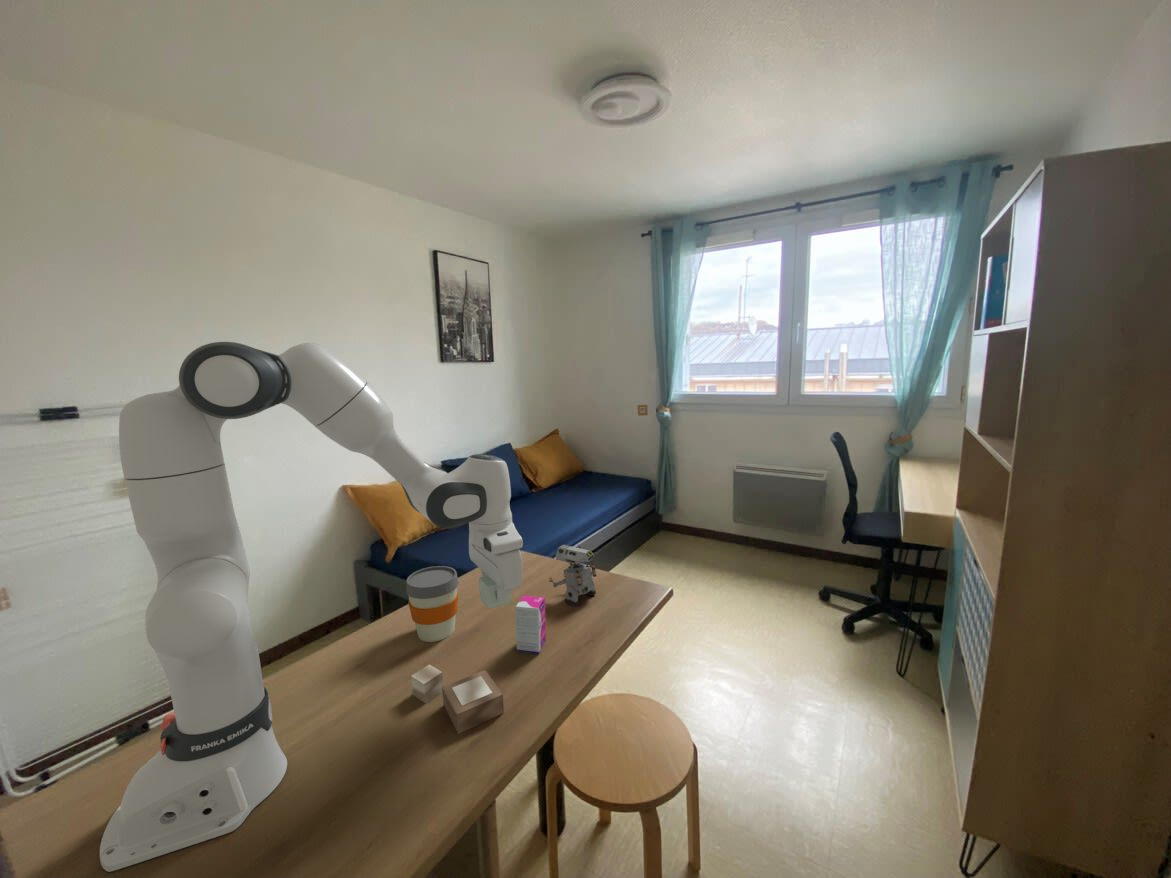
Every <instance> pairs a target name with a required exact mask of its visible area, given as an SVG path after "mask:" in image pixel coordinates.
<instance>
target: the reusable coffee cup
mask: <svg viewBox="0 0 1171 878" xmlns="http://www.w3.org/2000/svg"><path fill="white" fill-rule="evenodd" d="M406 578H407V579H406V589H405V590H406V595H407V596H408V607H409V612H410V615H411V619H412V621H413V622H414V623H415V624H414V625H415V629H416V633H417V636H418V638H419V640H420V641H423V642H429V643H430V642H431V643H432V642H439V641H443V640H444V639H446V638H448V637H450V636H451V635H453V634H454V632H455V628H456V615H457V613H458V610H459V609H458V605H459V591H458V586H459V584H460V582H459V578H458V573H457V570H456V569H455V568H453V567H451V566H445V565H441V566H440V565H437V566H428V567H424V568H421V569H418V570H416V571H414V572H412V573H411V574H410V575H409V576H408V577H406Z"/></svg>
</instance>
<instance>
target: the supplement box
mask: <svg viewBox="0 0 1171 878" xmlns="http://www.w3.org/2000/svg"><path fill="white" fill-rule="evenodd" d="M546 630H547V629H546V597H544V596H533V595H522V596H521V598H520V600H519V601H518V602H517V604H516V606H515V632H516V633H515V634H516V636H515V638H516V639H515V640H516V652H517V653H526V654H534V655H535V654H536V655H537V654H538V655H539V654H540V653H541V651H542V649H543V647H544V644H545V642H546V641H547V639H546V638H547V634H546V633H547V632H546Z"/></svg>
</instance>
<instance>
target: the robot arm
mask: <svg viewBox="0 0 1171 878" xmlns="http://www.w3.org/2000/svg"><path fill="white" fill-rule="evenodd" d="M178 371H179V372H178V383H179V385H178V386H177V387H176V388H174V389H172V390H169V391H163V392H153V393H148V394H144V395H142V396H141V395H140V396H139V397H136V398H134V399H133V400H131V401H128V403H127V404H125V406H123V407H122V409H121V411H120V414H119V420H118V421H119V422H118V424H119V425H118V445H119V456H120V462H121V467H122V473H123V478H124V479H123V480H124V482H125V486H126V490H127V494H128V495H127V496H128V499H129V504H130V508H131V512H132V516H133V521H134V526H135V530H136V532H137V535H138V536H139V537H140V538H141V539H142V540H143V541H144V545H145V546H146V547H147V551H148V552H149V554H150V556H151V558H152V561H153V563H154V566H155V569H156V573H157V586H156V590H155V592H154V594H153V595H152V598H151V599H150V601H149V603H148V605H147V609H146V612H145V616H144V617H145V618H144V619H145V624H144V625H145V626H144V627H145V634H146V639H147V642H148V644H149V645H150V646H151V648H152V649H153V650H154V651H155V654H156V655H155V656H156V657H157V659H158V661H159V663H160V666H161V668H162V669H163V672H164V674H165V677H166V679H167V683H168V687H169V692H170V697H171V701H172V707H173V708H172V709H173V712H169V713H167V714H166V715H165V716H164V717H163V718H162V723H161V725H160V728H161V734H160V739H159V740H160V746H159V748H160V750H159V751H157V753H156V754H155V755H153V757H151V758H150V759H149V760H148V761H147V762H146V763H145V764H143V765H142V766H141V767H140V768H139V769H138V770H137V771H136V772H135V773H134V775H133V777H132V778H131V780H130V781H129V783H128V785H127V787H126V788H125V791H124V793H123V796H122V800H121V803H120V805H119V807H118V808H117V809H116V810H115V812H114V813H113V815H112V816H111V818H110V820H108V823H107V825H106V828H105V829H104V832H103V835H102V838H101V842H100V846H99V862H100V866H101V867H102V869H103V870H104V871H106V872H108V873H110V872H114V871H118V870H121V869H123V868H127V867H130V866H133V865H136V864H139V863H143V862H145V861H148V860H151V859H154V858H157V857H161V856H164V855H166V854H170V853H172V852H175V851H178V850H181V849H184V848H187V847H190V846H193V845H197V844H199V843H202V842H206V841H208V840H211V839H215V838H217V837H221V836H224V835H226V834H229V833H232V832H234V831H235V830H237V829H238V828H239V827H240V826H241V825H242V824H243V822H244V821H245V820H246V819H247V817H249V815H250V813H251V812H252V811H253V810H254V809H255V808H256V807H257V806H258V805H259V804H260V803H262V802H263V801H264V800H265V799H267V797H268V796H269V795H270V794H272V793H273V791H275V789H276V788H277V787H278V786H279V784H280V783H281V782H282V780H283V779H284V776H285V774H286V772H287V769H288V759H287V757H286V755H285V753H284V752H283V750H282V749H281V747H280V745H279V743H278V740H277V738H276V735H275V733H274V729H273V726H272V724H273V722H272V721H273V711H272V704H271V697H270V696H269V692H268V690H267V688H266V687H265V686H264V680H263V672H262V665H261V660H260V654H259V648H258V645H257V642H256V639H255V635H254V632H253V631H254V630H253V627H252V621H251V617H250V611H249V586H250V585H249V583H250V574H251V573H250V566H249V562H248V557H247V554H246V550H245V549H246V548H245V545H244V542H243V537H242V533H241V529H240V527H239V524H238V520H237V517H236V513H235V509H234V504H233V498H232V494H231V493H232V492H231V489H230V482H229V478H228V475H227V474H228V473H227V470H226V464H225V458H224V455H223V450H222V449H223V448H222V443H221V432H222V431H221V430H222V427H223V425H224V424H225V423H226V421H227V420H238V419H243V418H249V417H251V416H255V415H257V414H259V413H261V412H263V411H265V410H268V409H270V408H273V407H275V406H277V405H280V404H283V405H285V406H288V407H289V408H292V409H293V410H295V411H296V412H297V413H299V414H300V415H301V416H302V417H303V418H305V419H306V421H308V422H309V423H310V424H311V425H312V426H314V428H316V429H317V430H318V431H320V432H321V433H322V434H323V435H325V437H327V438H329V439H330V440H331V441H333V442H334V443H337V444H338V445H339V446H340V447H343V448H344V449H347V450H348V451H349V452H354V453H357V454H361V455H364V456H366V457H369V458H370V459H372V460H373V461H374V462H376V463H377V464H378V465H379V466H380V467H381V468H382V469H383V470H384V471H386V472H387V473H388V474H389V475H391V477H392V478H394V479H395V480H396V481H397V482H398V483H399V485H400V486H401V487H402V489H403V491H404V494H405V496H406V499H407V501H408V503H409V505H410V506H411V507H412V508H413V509H414V510H415V512H418V513H419V514H421V515H422V516H423V517H424V518H426V519H427V520H428V521H429V522H431V524H433V525H435V526H437V527H439V528H441V529H454V528H458V527H461V526H463V525H466V524H468V527H469V528H468V531H469V533H468V555H469V558H470V560H471V562H473V564H475V566H477V567H478V568H479V569H480V570H479V571H480V574H481V577H483V576H487V575H488V576H489V577H490V578H491V579H492V580H493V581H494V582H495V583H496V586H497V591H495V595H496V599H497V600H498V601H504V600H506V591H509V590H511V591H512V590H515V589H518V588H520V587H521V585H522V582H523V557H522V552H521V550H520V549H521V548H523V547H524V546H523V545H524V542H523V537H522V536H521V535H520V534H519V531H518V530H517V528H516V526H515V523H514V522H513V512H512V511H511V505H510V501H511V498H512V490H511V488H512V487H511V480H510V471H509V468H508V464H507V462H506V461H505V460H504V459H503V458H501V457H499V456H496V455H491V454H484V453H483V454H482V453H477V454H472V455H469V456H468V457H467V459H466V460H465V461H464V462H462V463H461V464H460V465H459V466H458V467H456V468H455V469H453V470H451V471H450V472H448V471H446V470H444V469H442V468H440V467H437V466H434V465H430V464H428V463H427V462H425V461H423V460H422V459H421V458H420V456H418V455H417V454H416V453H415V452H414V451H413V450H412V448H411V447H409V446H408V444H406V443H405V442H404V441H403V440H402V439H401V438H400V436H399V435H398V434H397V432H396V430H395V427H394V415H393V412H392V411H391V409H390V407H389V406H388V404H387V402H385V400H384V399H383V397H382V396H381V395H380V394H379V392H378V391H377V390H376V389H375V388H374V387H373V386H372V385H371V384H370V382H368V381H367V380H366V379H365V378H364V377H363V376H362V375H361V374H359V372H357V370H355V369H354V368H353V367H352V366H351V365H349V364H348V363H347V362H346V361H344V360H343V359H341V358H340V357H339V356H338V355H336V354H335V353H334V352H332V351H330V350H329V349H327V348H326V347H325V346H323V345H321V344H318V343H315V342H305V343H299V344H295V345H293V346H292V347H289V348H288V349H286V350H284V351H283V352H282V353H280V354H278V355H277V354H274V353H271V352H268V351H265V350H261V349H258V348H255V347H252V346H249V345H247V344H243V343H239V342H234V341H215V342H210V343H207V344H204V345H201V346H199V347H197V348H196V349H194V350H192V351H191V352H190V353H189V354H188V355H186V357H185V358H184V360H183V361H182V363H181V365H180V369H179V370H178Z"/></svg>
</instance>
